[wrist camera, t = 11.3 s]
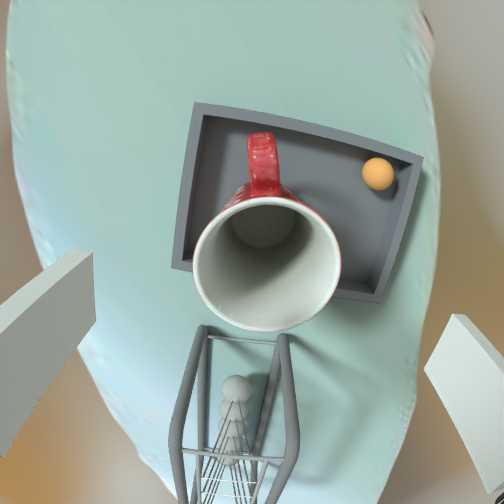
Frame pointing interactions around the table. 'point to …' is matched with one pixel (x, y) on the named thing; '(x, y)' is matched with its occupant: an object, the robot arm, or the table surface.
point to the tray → (300, 188)
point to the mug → (266, 252)
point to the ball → (377, 173)
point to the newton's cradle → (233, 423)
